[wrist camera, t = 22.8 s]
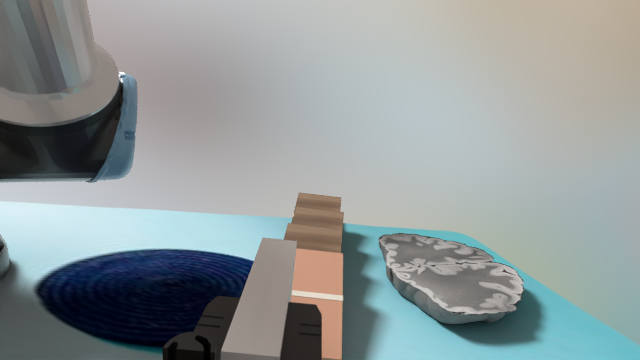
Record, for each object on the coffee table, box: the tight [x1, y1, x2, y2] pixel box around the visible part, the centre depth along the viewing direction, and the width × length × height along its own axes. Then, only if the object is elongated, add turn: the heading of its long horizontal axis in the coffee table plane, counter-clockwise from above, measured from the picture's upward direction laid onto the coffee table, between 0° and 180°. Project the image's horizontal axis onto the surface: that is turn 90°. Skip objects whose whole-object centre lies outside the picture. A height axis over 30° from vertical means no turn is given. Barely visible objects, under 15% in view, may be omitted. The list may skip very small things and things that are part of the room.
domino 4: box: [291, 248, 343, 360], centre depth 34 cm, size 2×7×12 cm
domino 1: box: [291, 193, 341, 224], centre depth 53 cm, size 2×7×12 cm
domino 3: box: [284, 223, 342, 253], centre depth 40 cm, size 2×7×12 cm
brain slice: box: [379, 233, 524, 324], centre depth 45 cm, size 20×17×3 cm
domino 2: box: [292, 207, 344, 245], centre depth 47 cm, size 2×7×12 cm
